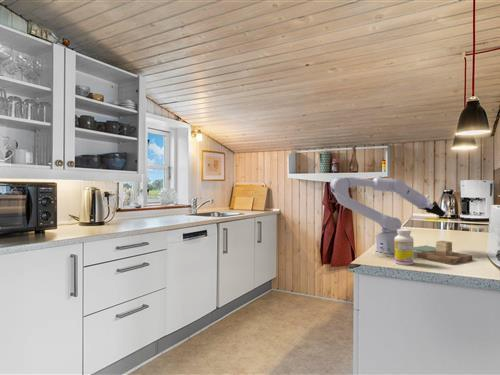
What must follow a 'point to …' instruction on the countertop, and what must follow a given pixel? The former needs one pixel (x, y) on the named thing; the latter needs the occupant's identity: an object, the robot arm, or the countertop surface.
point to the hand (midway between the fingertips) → (439, 213)
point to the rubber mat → (424, 248)
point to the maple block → (444, 248)
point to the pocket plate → (445, 257)
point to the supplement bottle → (404, 247)
